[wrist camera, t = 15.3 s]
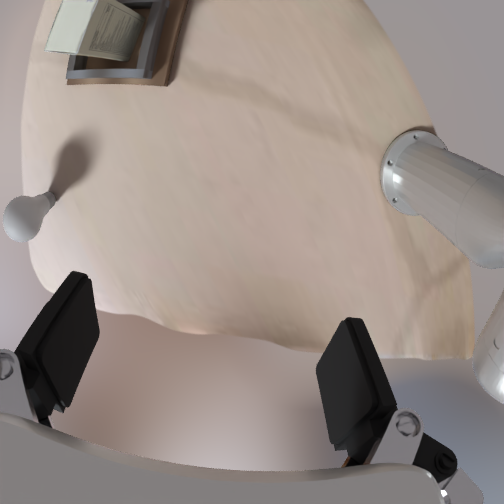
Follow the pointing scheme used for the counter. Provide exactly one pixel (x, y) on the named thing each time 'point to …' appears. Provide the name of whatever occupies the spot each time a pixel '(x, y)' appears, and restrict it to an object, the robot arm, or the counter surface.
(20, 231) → the lightbulb
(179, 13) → the holder board
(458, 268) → the counter surface
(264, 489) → the robot arm
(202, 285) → the counter surface
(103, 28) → the skincare box
